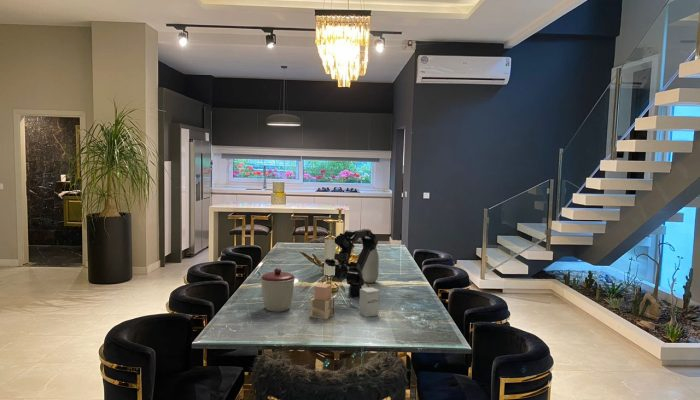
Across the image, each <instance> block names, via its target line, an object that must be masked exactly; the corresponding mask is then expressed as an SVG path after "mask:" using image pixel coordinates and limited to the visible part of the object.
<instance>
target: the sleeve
mask: <svg viewBox="0 0 700 400" xmlns="http://www.w3.org/2000/svg"><path fill="white" fill-rule="evenodd" d="M309 301H310V307H309V308H310V311H309V315H310V316H309V317H312V318H316V317H317V318H318V319H322V318H324V319H323V320H328V319H330V318H332V317H333V316H335V297H331V299H329V300H327V301H323V300H316V299H315V296H314V297H313V298H311V299H309ZM329 317H330V318H329Z"/></svg>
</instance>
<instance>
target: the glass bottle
mask: <svg viewBox="0 0 700 400" xmlns="http://www.w3.org/2000/svg"><path fill="white" fill-rule="evenodd" d="M379 261H380V260H379V252H378V249H377V246H376V247H375V249H374V250H372V251H371V252H370V254H369V256H368V258H367V261H366V263H365V265H364V267H363V270H362V275H363V279H364V281H365V282H364V283H369V284H373V283H375V282H377V280H378V278H379Z"/></svg>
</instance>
